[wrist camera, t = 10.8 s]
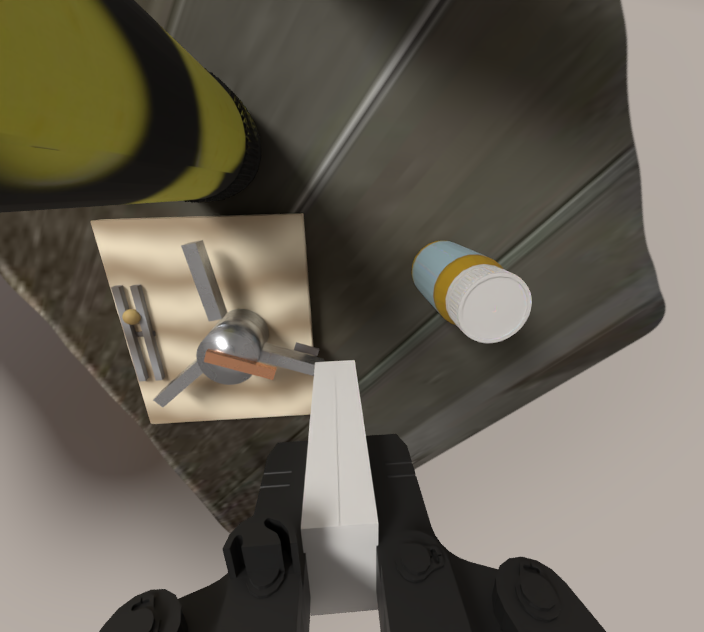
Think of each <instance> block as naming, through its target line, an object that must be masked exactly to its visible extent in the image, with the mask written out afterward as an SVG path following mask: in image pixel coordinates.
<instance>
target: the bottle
mask: <svg viewBox="0 0 704 632" xmlns="http://www.w3.org/2000/svg"><path fill="white" fill-rule="evenodd" d="M411 274H412V279H413V282H414V284H415V286H416V287H417V288H418V290H419V291H420V292H421V293H422V294H423V296H424V297H425V298H426V299H427V300H428V301H429V302H430V303H431V305H432V306H433V307H434V308H435V309H436V310H437V311H438V312H439V314H440V315H441V316H442V317H443V318H444V319H446V320H447V321H448V322H450V323H452V324H454V325H457V326H458V327H459V328H460V329H461V331H462V332H463V333H464V334H465V335H467V336H468V337H470V338H471V339H473V340H475V341H478V342H482V343H495V342H499V341H502V340H505V339H507V338H509V337H511V336H512V335H514V334H515V333H516V332H517V331H518V330H519V329H520V328H521V327H522V326H523V325H524V323H525V322H526V320H527V318H528V316H529V314H530V310H531V304H532V299H531V293H530V290H529V288H528V286H527V285H526V284H525V282H524V281H523V280H521V278H520V277H518V276H517V275H514V274H513V273H510V272H508V271H506V270H504V269H503V268H502V266H501V265H500V264H498V263H497V262H496V261H495V260H493V259H491V258H489V257H487V256H484V255H482V254H480V253H477V252H475V251H473V250H470V249H468V248H465V247H463V246H461V245H458V244H456V243H453V242H450V241H435V242H433V243H430V244H428V245H426V246H425V247H424V248H422V249H421V250H420V251H419V253H418V254H417V255H416V257H415V259H414V261H413V264H412V272H411Z"/></svg>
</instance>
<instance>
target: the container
mask: <svg viewBox="0 0 704 632" xmlns="http://www.w3.org/2000/svg"><path fill="white" fill-rule="evenodd" d="M260 159H261V146H260V138H259V135H258V132H257V128H256V125H255V123H254V122H253V120H252V118H251V117H250V113H249V112H247V108H246V107H245V106H244V105H243V103H242V102H241V100H239V98H238V97H237V96H236V95H235V94H234V93H233V92H232V91H231V90H230V89H229V88H228V87H227V86H226V85H225V83H223V82H222V81H221V80H220V79H219V78H217V77H215V75H213V73H212V72H209V71H207V70H206V68H203V67H202V66H201V65H200V64H199V63H198V62H197V61H196V60H195V59H194V58H193V57H192V56H191V55H190V54H189V53H188V52H187V51H186V50H185V49H184V48H183V47H182V46H181V45H180V44H179V43H178V42H177V41H176V40H175V39H173V38H172V37H171V36H170V35H169V34H168V33H167V32H166V31H165V30H164V29H163V28H162V27H161V26H160V25H159V24H158V23H157V22H156V21H155V20H154V19H153V18H152V17H151V16H150V15H149V14H148V13H147V12H146V11H145V10H144V9H143V8H142V7H140V6H139V5H138V4H137V3H136V2H135V1H134V0H0V212H15V211H30V210H45V209H60V208H76V207H91V206H106V205H121V204H136V203H151V202H167V201H182V200H184V201H185V202H187V201H188V202H189V201H190V202H192V203H193V202H198V203H199V202H208V201H209V202H210V201H217V200H218V201H219V200H221V199H222V200H223V199H225V198H229V197H230V196H231V195H235V194H237V193H238V192H240V191H242V190H243V189H245V188H246V187H247V186H248V185H249V183H250V182H251V181H252V180H253V179H254V177H255V175H256V173H257V171H258V167H259V163H260Z"/></svg>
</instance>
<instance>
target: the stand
mask: <svg viewBox="0 0 704 632" xmlns="http://www.w3.org/2000/svg"><path fill="white" fill-rule="evenodd" d="M91 225H92V228H93V231H94V235H95V238H96V241H97V245H98V248H99V251H100V255H101V258H102V261H103V265H104V268H105V271H106V275H107V278H108V281H109V285H110V288H111V291H112V295H113V298H114V301H115V305H116V308H117V311H118V315H119V318H120V321H121V325H122V328H123V332H124V335H125V338H126V342H127V345H128V348H129V352H130V355H131V358H132V362H133V365H134V368H135V372H136V375H137V378H138V382H139V385H140V388H141V392H142V395H143V398H144V402H145V405H146V408H147V412H148V415H149V418H150V422H151V424H160V423H176V422H193V421H209V420H226V419H242V418H258V417H275V416H291V415H307V414H311V404H312V392H313V380H314V376H312V375H308V374H305V373H301V372H297V371H294V370H290V369H286V368H283V367H279V366H275V365H272V364H268V363H264V362H261V361H259V363H262V364H266V365H270V366H273V367H277V369H276V373H275V376H274V379H273V380H270V379H267V378H263V377H259V376H255V375H252V376H251V377H250V378H249V379H247V380H246V381H244V382H242V383H239V384H234V385H226V384H220V383H217V382H215V381H213V380H211V379H209V378H208V377H207V376H206V375H205V374H204V373H202V374H201V375H200V376H199V377H198V378H197V379H196V380H194V381H193V382H192V383H191V384H190V385H189V386H187V387H186V388H185V389H184V390H183V391H182V392H181V393H179V394H178V395H177V396H176V397H175V398H174V399H172V400H171V401H170V402H169V403H168V404H167V405H166V406H164V407H161V406H160V405H159V404H157V403H156V402H155V401H153V399H154V398H155V397H156V396H157V395H158V393H159V392H160V391H161V390H162V389H163V388H164V387H165V386H167V385H168V384H169V383H170V382H171V381H172V380H173V379H174V378H176V377H177V376H178V375H179V374H180V373H181V372H182V371H184V370H185V369H186V368H187V367H188V366H189V365H190V364H191V363H193V362H194V361H195V360H196V359H197V358H196V354H197V349H198V347H199V345H200V343H201V342H202V341H203V339H204V338H205V337H206V336H207V335H208V333H209V332H210V331H211V330H212V329H213V328H214V326H215V325H216V324H217V323H218V322H219V321H220V320H215V321H208V318H207V315H206V312H205V310H204V307H203V304H202V302H201V299H200V296H199V293H198V291H197V288H196V285H195V283H194V280H193V277H192V274H191V272H190V269H189V266H188V264H187V261H186V258H185V255H184V253H183V250H182V247H181V245H184V244H187V243H190V242H195V241H200V240H203V242H204V245H205V248H206V251H207V254H208V257H209V260H210V263H211V266H212V268H213V271H214V274H215V277H216V280H217V283H218V286H219V289H220V292H221V295H222V298H223V301H224V304H225V307H226V309H227V312H230V311H232V310H235V309H247V310H251V311H253V312H255V313H257V314H258V315H260V316H261V317H262V318H263V319H264V321H265V322H266V324H267V326H268V330H269V337H268V341H267V343H270V344H273V345H277V346H280V347H284V348H287V349H291V350H294V351H298V352H301V353H305V354H308V355H312V356H317V355H318V352H319V348H316V347H313V333H312V320H311V307H310V293H309V280H308V267H307V254H306V240H305V227H304V214H303V213H293V214H261V215H228V216H196V217H164V218H132V219H102V220H94V221H91Z"/></svg>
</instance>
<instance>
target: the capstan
mask: <svg viewBox="0 0 704 632" xmlns="http://www.w3.org/2000/svg"><path fill="white" fill-rule="evenodd" d="M181 247H182V250H183V253H184V255H185V258H186V261H187V264H188V266H189V269H190V272H191V274H192V277H193V280H194V283H195V285H196V288H197V291H198V293H199V296H200V299H201V302H202V304H203V307H204V310H205V312H206V315H207V318H208V321H215V320H220V321H219V322H218V323H217V324H216V325H215V326H214V328H213V329H212V330H211V331H210V332H209V333H208V335H207V336H206V337H205V338H204V339H203V341H202V342H201V343H200V345H199V347H198V349H197V354H196V358H197V359H196V360H195V361H194V362H193V363H191V364H190V365H189V366H188V367H187V368H186V369H185V370H184V371H182V372H181V373H180V374H179V375H178V376H177V377H176V378H174V379H173V380H172V381H171V382H170V383H169V384H168V385H167V386H165V387H164V388H163V389H162V390H161V391H160V392H159V393H158V395H157V396H156V397H155V398H154V399H153V401H155V402H156V403H157V404H159V405H160V406H161V407H164V406H166V405H167V404H168V403H169V402H170V401H171V400H172V399H174V398H175V397H176V396H177V395H178V394H179V393H181V392H182V391H183V390H184V389H185V388H186V387H187V386H189V385H190V384H191V383H192V382H193V381H194V380H196V379H197V378H198V377H199V376H200V375H201V374H202V373H204V374H205V375H206V376H207V377H208V378H209V379H211V380H213V381H215V382H217V383H220V384H226V385H234V384H239V383H242V382H244V381H246V380H247V379H249V378H250V377H251V376H252V375H255V376H259V377H263V378H267V379H270V380H273V379H274V376H275V373H276V369H277V367H273V366H270V365H266V364H262V363H259V361H261V362H264V363H268V364H272V365H275V366H279V367H283V368H286V369H290V370H294V371H297V372H301V373H305V374H308V375H312V376H314V369H315V362H324V359H322V358H319V357H315V356H312V355H308V354H305V353H301V352H298V351H294V350H291V349H287V348H284V347H280V346H277V345H273V344H270V343H267V341H268V337H269V330H268V326H267V324H266V322H265V321H264V319H263V318H262V317H261V316H260V315H258V314H257V313H255V312H253V311H251V310H247V309H235V310H232V311H230V312H227V309H226V307H225V304H224V301H223V298H222V295H221V292H220V289H219V286H218V283H217V280H216V277H215V274H214V271H213V268H212V266H211V263H210V260H209V257H208V254H207V251H206V248H205V245H204V242H203V240H200V241H195V242H190V243H187V244H184V245H181Z"/></svg>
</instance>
